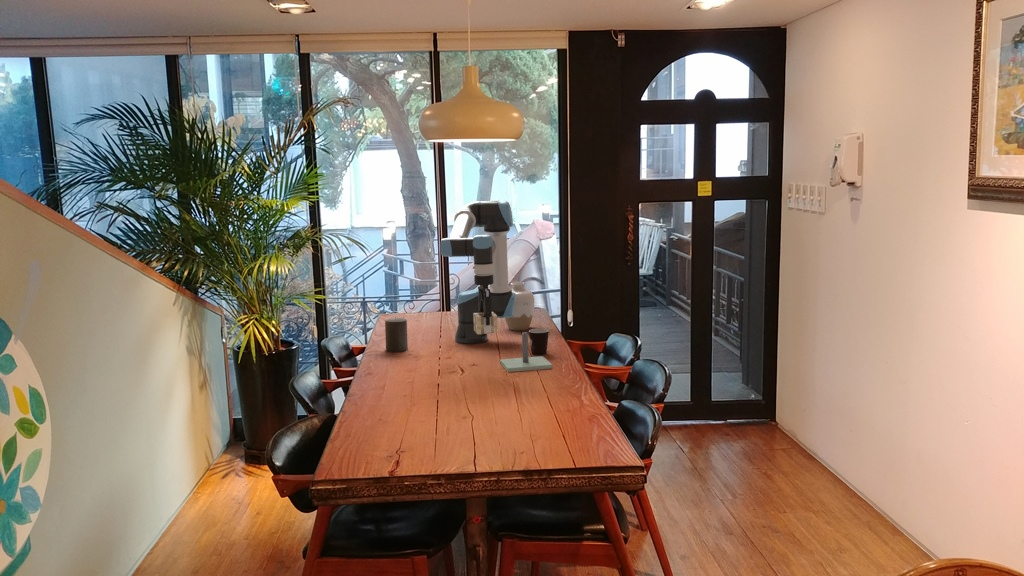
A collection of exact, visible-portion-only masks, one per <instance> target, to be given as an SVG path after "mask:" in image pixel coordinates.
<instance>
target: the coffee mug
mask: <svg viewBox="0 0 1024 576" xmlns="http://www.w3.org/2000/svg"><path fill="white" fill-rule="evenodd" d="M549 331H550V330H549V329H547V328H532V329H528V338H529V341H530V342H529V343H530V349H531V350H530V351H531V355H533V356H545V355H547V353H548V343H549Z"/></svg>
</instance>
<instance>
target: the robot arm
mask: <svg viewBox="0 0 1024 576" xmlns="http://www.w3.org/2000/svg"><path fill="white" fill-rule="evenodd" d="M513 219H514V218H513V212H512V208H511V203H510V202H509V201H507V200H482V201H481V200H479V201H478V200H477V201H471V202H468V203H467V204H465V205H463V206H461V207H460V208H459V209H458V210H457V212H456V213H455V215H454V219H453V221H454V224H453V227H452V229H451V231H450V234H449V235H448V236H449V237H446V238H441V240H440V245H439V250H440V255H441V256H442V257H446V258H447V257H449V258H457V257H458V258H461V257H463V258H464V257H473V266H472V270H474V271H473V274H474V276H473V277H474V278H473V280H474V281H473V283H474V285H476V286H477V289H469V290H465V291H462V292H460V293H458V294H457V301H456V302H457V303H456V305H457V328H456V331H455V335H454V341H455V342H456V343H459V344H480V343H483V342H486V341H487V342H488V338H489V337H488V334H485V333H489V334H492V333H491V316H492V312H494V313H495V314H496V315H497V319H505V318H509V317H511V316H512V315H513V311H514V304H515V293H514V292H512V286H511V285H509V266H508V263H509V262H508V260H509V259H508V240H507V239H508V237H507V235H508V233H509V232H510V231H511V230H510V229H511V228H512V227H513V226H514V220H513ZM473 228H483V232H484V233H485V234H476V235H474V236H473V237H469V236H470V233H471V230H472V229H473ZM482 312H484V316H482V317H484V334H477V333H476V332H475V331H474V315H473V313H482Z"/></svg>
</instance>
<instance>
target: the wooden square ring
mask: <svg viewBox="0 0 1024 576" xmlns="http://www.w3.org/2000/svg"><path fill="white" fill-rule="evenodd" d="M473 315H474V331H475V332H476V333H477V334H484V317H482V316H484V312H482V313H473ZM497 333H498V318H497V315H496V314H495V313H494V312H492V316H491V333H485V334H487V335H488V334H497Z"/></svg>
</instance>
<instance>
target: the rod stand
mask: <svg viewBox="0 0 1024 576" xmlns="http://www.w3.org/2000/svg"><path fill="white" fill-rule="evenodd" d="M521 342H522V343H521V349H522V350H521V353H522V355H521V357H514V358H503V359H501V358H500V359H499V363H500V365H501V364H502V365H501V366H502V367H503V368H504V369H505V371H506V372H508V373H511V372H523V371H536V370H537V371H538V370H548V369H549V370H550V369H553V364H552V363H551V362H550V361H549V360H548V359H547V358H546V357H544V355H536V356H529V332H525V331H524V332H521Z"/></svg>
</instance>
